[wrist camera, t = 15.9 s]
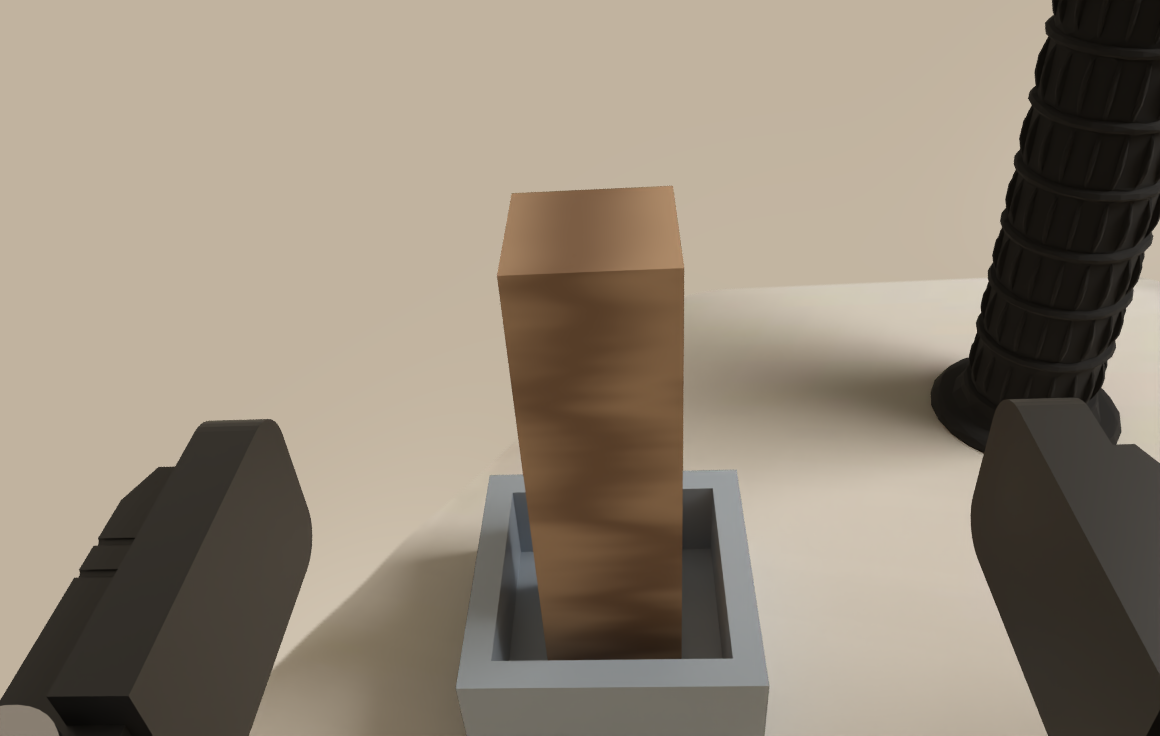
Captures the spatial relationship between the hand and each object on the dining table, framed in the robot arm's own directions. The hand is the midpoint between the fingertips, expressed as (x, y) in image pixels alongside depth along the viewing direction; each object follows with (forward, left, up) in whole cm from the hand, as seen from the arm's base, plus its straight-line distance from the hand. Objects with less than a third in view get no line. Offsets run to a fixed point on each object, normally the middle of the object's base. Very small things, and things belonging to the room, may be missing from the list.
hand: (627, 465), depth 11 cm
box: (-8, -17, -28) cm, 33 cm away
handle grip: (-36, -20, -28) cm, 50 cm away
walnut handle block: (-8, -17, -27) cm, 32 cm away
